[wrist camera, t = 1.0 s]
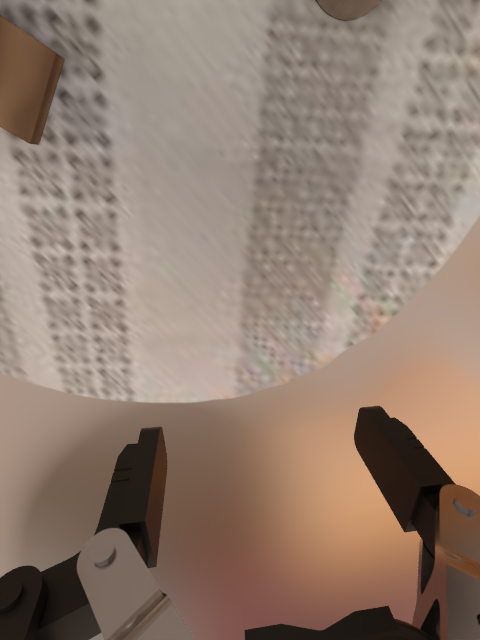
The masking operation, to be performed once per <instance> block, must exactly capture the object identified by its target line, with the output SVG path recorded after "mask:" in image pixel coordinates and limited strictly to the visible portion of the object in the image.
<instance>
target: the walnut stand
mask: <svg viewBox="0 0 480 640" xmlns="http://www.w3.org/2000/svg"><path fill="white" fill-rule="evenodd" d="M63 62H64V59H63V58H62V57H61V56H59V55H58V54H57V53H55V52H54V51H52V50H51V49H49V48H48V47H46V46H45V45H43V44H42V43H40V42H39V41H37V40H36V39H34V38H33V37H32V36H30V35H29V34H27V33H26V32H24V31H23V30H21V29H20V28H18V27H17V26H15V25H14V24H12V23H11V22H9V21H8V20H6V19H5V18H3V17H2V16H0V127H1V128H3V129H5V130H7V131H8V132H10V133H12V134H14V135H15V136H17V137H19V138H21V139H23V140H24V141H26V142H28V143H30V144H37V145H39V142H40V139H41V135H42V132H43V129H44V125H45V122H46V119H47V115H48V112H49V109H50V105H51V102H52V99H53V95H54V92H55V89H56V85H57V82H58V79H59V75H60V72H61V69H62V65H63Z"/></svg>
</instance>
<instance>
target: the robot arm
mask: <svg viewBox="0 0 480 640" xmlns="http://www.w3.org/2000/svg"><path fill="white" fill-rule="evenodd" d="M381 1H382V0H317V2H318V3H319V5H320V6H321V7H322V9H323V10H325V11H326V12H327V13H328V14H329V15H331V16H333V17H335V18H337V19H341V20H353V19H357V18H359V17H361V16H364V15H365V14H367V13H368V12H369V11H371V10H372V9H373V8H374V7H375V6H376V5H378V4H379V3H380V2H381ZM354 440H355V445H356V448H357V450H358V452H359V454H360V456H361V458H362V459H363V461H364V463H365V465H366V466H367V468H368V469H369V471H370V473H371V475H372V477H373V478H374V480H375V482H376V484H377V485H378V487H379V489H380V491H381V492H382V494H383V496H384V498H385V499H386V501H387V503H388V504H389V506H390V508H391V510H392V511H393V513H394V515H395V516H396V518H397V520H398V522H399V524H400V525H401V527H402V529H403V531H404V532H411V531H417V532H418V534H419V535H420V537H421V540H420V544H419V562H418V582H417V600H416V606H415V611H414V615H413V621H412V625H411V624H409V623H406V622H404V621H401V620H398V619H394V618H393V615H392V613H391V611H390V608H389V606H385V607H379V608H373V609H367V610H361V611H355V612H353V613H351V614H350V615H348V616H346V617H345V618H343V619H341V620H340V621H338V622H336V623H335V624H333V625H332V626H330V627H328V628H327V629H325V630H322V631H318V630H312V629H307V628H301V627H296V626H290V625H284V624H278V625H272V626H266V627H261V628H254V629H249V630H245V640H480V496H479V495H478V494H476V493H475V492H473V491H472V490H470V489H468V488H466V487H463V486H460V485H456V484H455V483H454V482H453V481H452V479H451V478H450V477H449V476H448V475H447V473H446V472H445V471H444V470H443V469H442V467H441V466H440V465H439V464H438V463H437V461H436V460H435V459H434V458H433V457H432V455H430V453H429V452H428V451H427V449H425V448H424V446H423V445H422V443H421V442H420V441H419V440H417V438H416V436H415V435H414V434H413V433H412V431H411V430H410V429H409V428H408V427H407V426H406V425H405V424H403V423H402V422H400V421H399V420H398V419H396V418H390V417H389V416H388V415H387V413H386V412H385V411H384V409H383V408H382V407H380V406H373V407H362V408H360V409H359V413H358V418H357V423H356V429H355V433H354ZM166 475H167V453H166V447H165V441H164V435H163V429H162V427H152V428H142V429H141V432H140V436H139V440H138V443H137V444H128V445H126V447H125V448H124V450H123V451H122V452H121V453H120V455H119V456H118V459H117V462H116V466H115V469H114V473H113V476H112V480H111V484H110V486H109V489H108V493H107V496H106V500H105V503H104V507H103V510H102V513H101V517H100V521H99V524H98V527H97V530H96V532H95V534H94V536H93V537H92V538H91V539H90V540H89V541H88V542H87V543H86V544H85V546H84V547H83V549H82V550H81V551H80V552H79V553H77V554H76V555H75V556H73V557H71V558H69V559H68V560H66V561H63V562H62V563H59V564H57V565H55V566H53V567H51V568H48V569H46V570H44V571H42V572H40V571H39V570H38V569H37V568H36V567H33V566H22V567H18V568H16V569H13V570H12V571H10V572H8V573H6V574H5V575H4V576H2V577H1V578H0V640H89V639H91V638H92V637H94V636H96V635H98V634H99V633H101V632H102V634H103V637H104V639H105V640H195V639H194V637H193V635H192V634H191V632H190V630H189V629H188V627H187V625H186V624H185V622H184V620H183V619H182V617H181V615H180V614H179V612H178V611H177V609H176V607H175V606H174V604H173V602H172V601H171V599H170V598H169V597H168V596H167V595H166V594H164V593H163V592H162V591H161V590H160V588H159V586H158V585H157V583H156V582H155V580H154V578H153V577H152V575H151V573H150V572H149V570H148V568H151V567H156V564H157V556H158V547H159V538H160V529H161V520H162V511H163V502H164V493H165V483H166Z"/></svg>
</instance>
